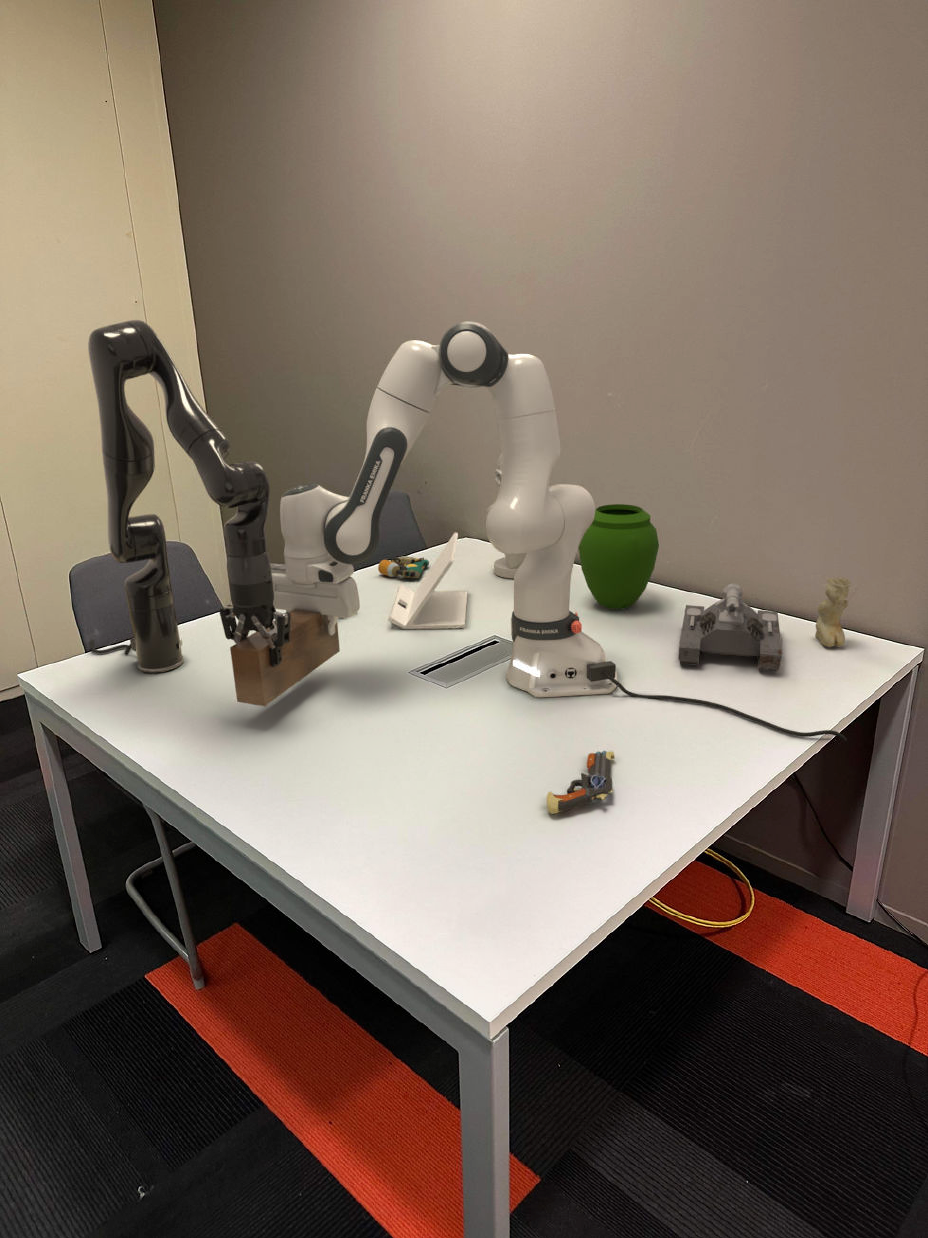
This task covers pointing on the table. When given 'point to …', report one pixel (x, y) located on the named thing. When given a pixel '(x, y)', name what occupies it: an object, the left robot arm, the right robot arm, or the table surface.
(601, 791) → the toy gun
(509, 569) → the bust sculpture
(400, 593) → the tablet stand
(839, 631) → the sculpture
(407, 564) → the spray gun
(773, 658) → the toy
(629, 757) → the table surface
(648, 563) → the vase
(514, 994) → the table surface
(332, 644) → the box
